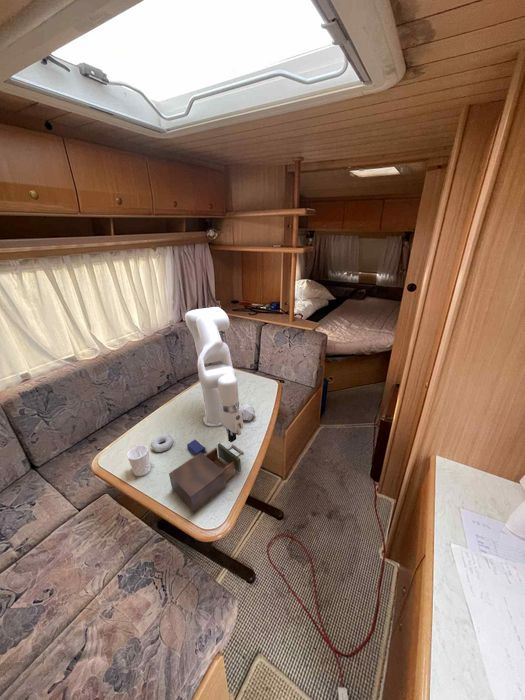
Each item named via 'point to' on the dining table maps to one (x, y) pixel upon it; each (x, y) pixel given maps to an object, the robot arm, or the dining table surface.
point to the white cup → (139, 460)
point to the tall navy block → (196, 447)
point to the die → (247, 411)
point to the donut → (164, 446)
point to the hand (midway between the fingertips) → (232, 440)
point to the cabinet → (197, 481)
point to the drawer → (226, 460)
